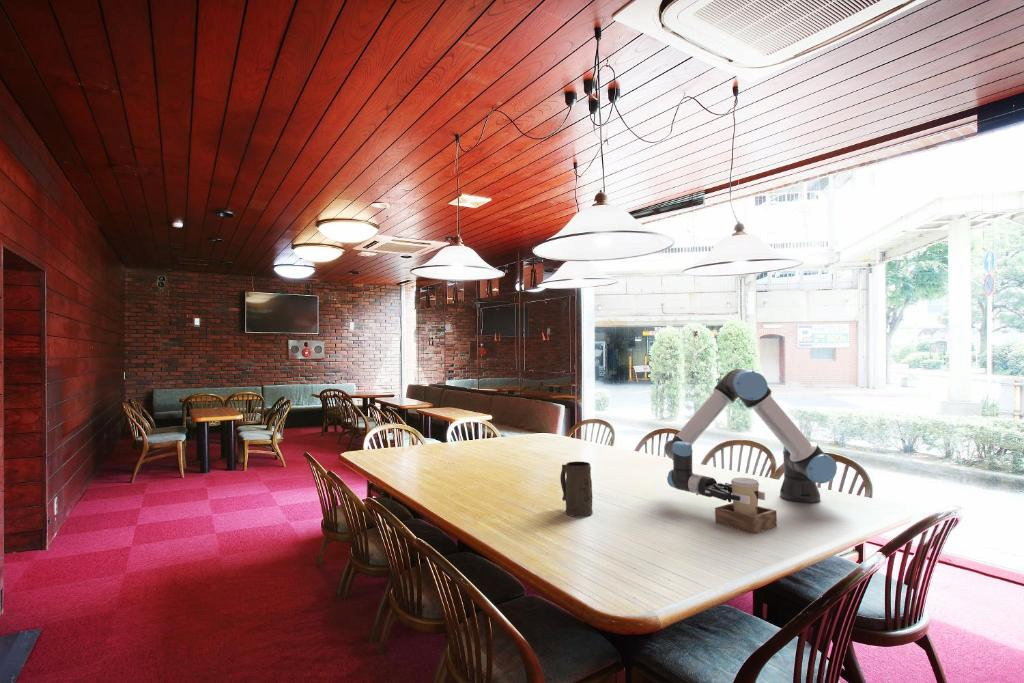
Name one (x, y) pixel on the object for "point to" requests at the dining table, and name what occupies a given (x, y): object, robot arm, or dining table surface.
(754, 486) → the coffee cup
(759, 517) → the wooden tray
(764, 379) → the robot arm
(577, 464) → the beer stein
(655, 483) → the dining table surface
